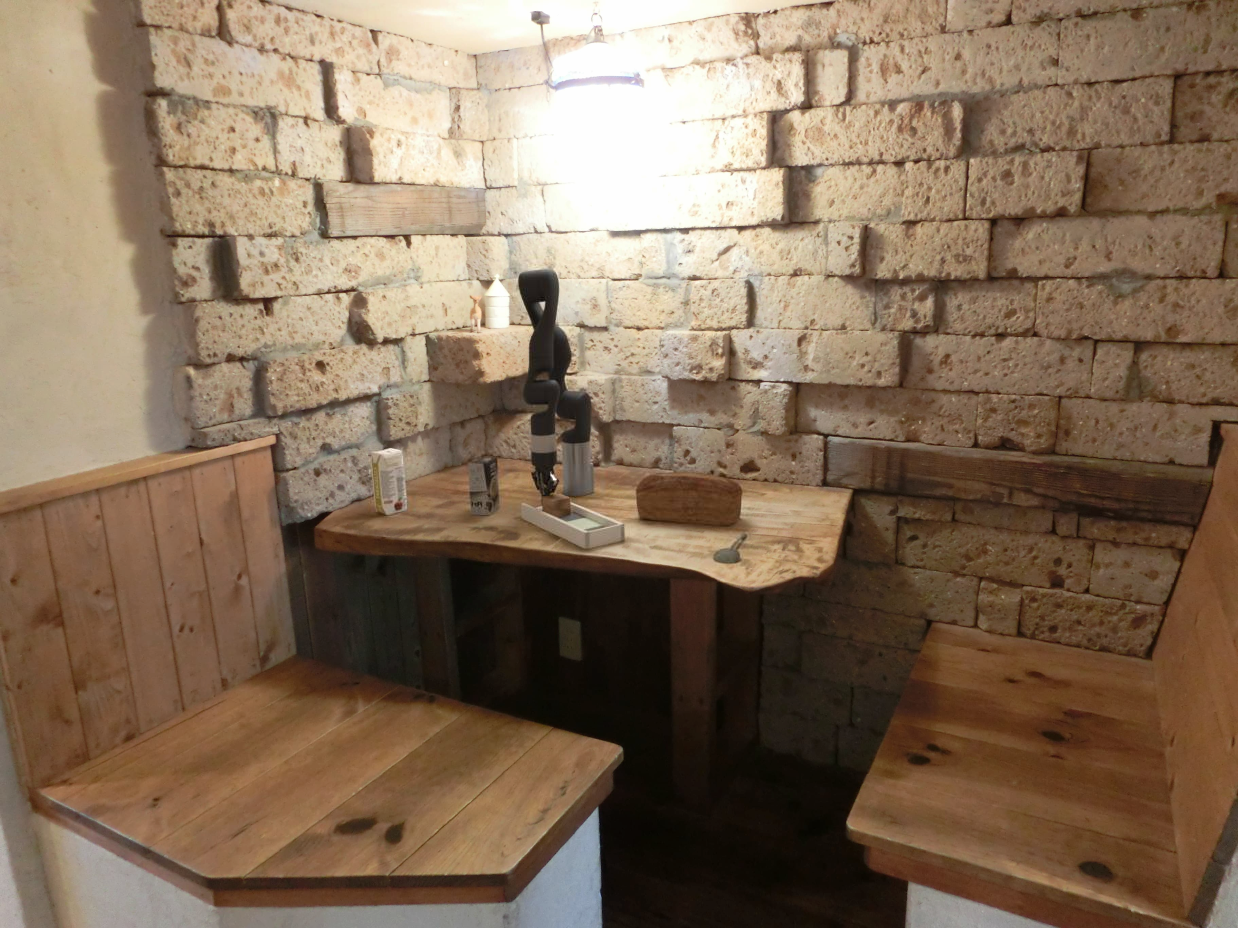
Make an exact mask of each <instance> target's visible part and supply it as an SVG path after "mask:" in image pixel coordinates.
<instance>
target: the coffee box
mask: <svg viewBox="0 0 1238 928" xmlns="http://www.w3.org/2000/svg"><path fill="white" fill-rule="evenodd" d="M467 466H468V468H467V469H468V485H469V502H470V503H469V504H470V515H478V516H491V515H492V514H493V513H495V512H496V511H497V510H498V509H499V508H500V507H501V505H500V487H499V486H500V485H499V484H500V483H499V470H498V469H499V467H498V456H477V457H476V458H474V459H472V460H471V461H469V462H468V463H467Z"/></svg>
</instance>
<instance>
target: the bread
mask: <svg viewBox="0 0 1238 928" xmlns="http://www.w3.org/2000/svg"><path fill="white" fill-rule="evenodd" d="M635 495H636V496H635V498H636V499H635V500H636V510H637V512H638V517H640V518H642V519H646V520H650V521H651V520H652V521H670V522H679V523H691V524H692V523H697V524H706V525H707V524H709V525H713V526H730V525H733V524H734V523H736V522H737V521H738V520H739V519H740V517H741V513H742V512H741V511H742V497H743V489H742V487H741V485H740V484H739V483H738V482H736V481H734V480H732V479H730V478H727V477H723V476H720V475H714V474H707V473H702V472H701V473H700V472H694V471H693V472H692V471H680V472H679V471H678V472H672V471H670V472H657V473H656V472H655V473H651V474H650V475H647V476H645V477H643V478H642V479H641V480H640V482H639V483H638V485H637V486H636V489H635Z"/></svg>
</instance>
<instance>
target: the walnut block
mask: <svg viewBox="0 0 1238 928" xmlns="http://www.w3.org/2000/svg"><path fill="white" fill-rule="evenodd" d="M570 502H571V497H569V496H568V495H566V494H564V493H563V494H562V493H552V494H550V495H548V496H543V497H542V502H541V506H542V511H543V512H546V513H548V514H550V515H552V516H554V517H561V516H566V515H570V514H571V503H570Z"/></svg>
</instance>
